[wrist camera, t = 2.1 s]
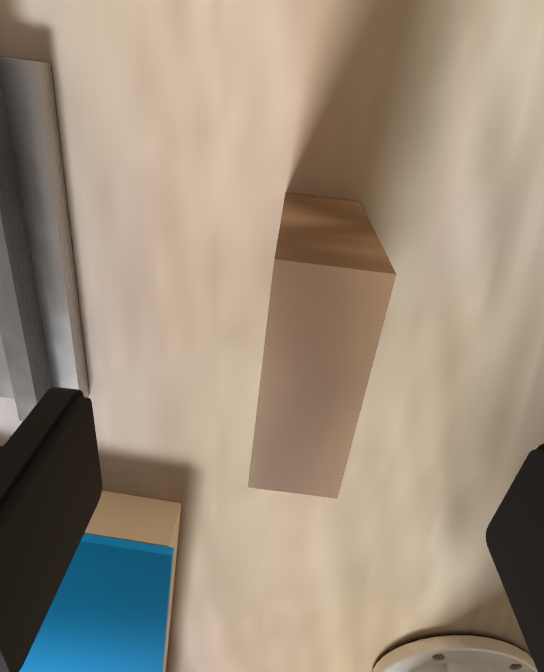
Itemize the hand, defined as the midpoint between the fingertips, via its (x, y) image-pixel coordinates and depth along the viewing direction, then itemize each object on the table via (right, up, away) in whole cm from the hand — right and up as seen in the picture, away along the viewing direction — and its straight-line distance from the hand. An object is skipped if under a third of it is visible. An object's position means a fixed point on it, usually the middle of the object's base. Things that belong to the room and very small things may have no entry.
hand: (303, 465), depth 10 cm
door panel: (+1, +5, +10) cm, 11 cm away
